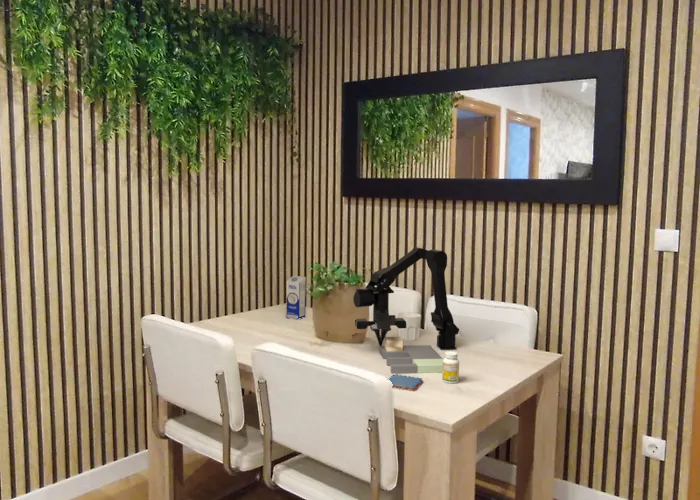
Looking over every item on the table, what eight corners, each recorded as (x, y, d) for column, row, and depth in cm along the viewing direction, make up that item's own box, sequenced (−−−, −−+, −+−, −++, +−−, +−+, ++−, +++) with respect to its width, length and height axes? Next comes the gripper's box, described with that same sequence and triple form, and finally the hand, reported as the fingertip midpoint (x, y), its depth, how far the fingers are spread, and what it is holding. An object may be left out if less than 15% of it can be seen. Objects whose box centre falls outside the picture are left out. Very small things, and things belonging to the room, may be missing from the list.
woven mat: (415, 393, 180) (415, 387, 180) (383, 388, 185) (383, 382, 184) (424, 383, 190) (424, 377, 190) (393, 378, 194) (393, 373, 194)
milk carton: (305, 316, 283) (306, 276, 281) (298, 319, 277) (299, 278, 275) (293, 315, 286) (293, 275, 284) (286, 318, 280) (286, 277, 278)
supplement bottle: (453, 385, 187) (454, 356, 186) (439, 381, 191) (440, 353, 190) (461, 381, 191) (462, 352, 190) (447, 377, 195) (448, 349, 194)
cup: (412, 342, 239) (413, 318, 238) (392, 338, 245) (392, 315, 244) (424, 337, 247) (425, 314, 246) (404, 333, 253) (405, 311, 252)
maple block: (399, 346, 223) (399, 336, 222) (402, 351, 217) (402, 340, 216) (384, 346, 222) (384, 336, 222) (386, 351, 216) (387, 340, 216)
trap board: (430, 351, 226) (430, 345, 226) (448, 372, 200) (448, 365, 200) (379, 352, 224) (379, 345, 223) (391, 373, 198) (391, 366, 198)
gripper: (358, 310, 208) (358, 352, 210) (409, 309, 210) (409, 351, 212) (355, 303, 219) (354, 344, 221) (403, 303, 221) (403, 343, 223)
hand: (380, 345), depth 219 cm, fingers closed
